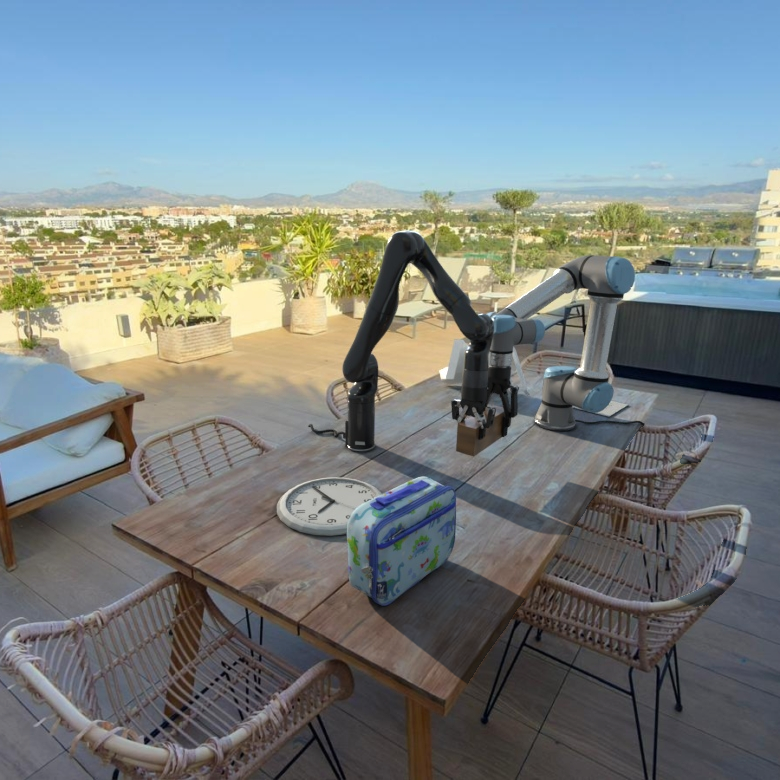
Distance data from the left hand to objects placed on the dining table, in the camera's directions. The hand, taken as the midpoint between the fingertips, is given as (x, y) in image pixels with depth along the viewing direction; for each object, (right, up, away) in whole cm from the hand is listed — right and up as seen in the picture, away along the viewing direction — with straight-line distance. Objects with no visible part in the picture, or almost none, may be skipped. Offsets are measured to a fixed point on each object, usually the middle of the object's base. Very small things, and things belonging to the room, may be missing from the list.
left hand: (471, 436), depth 158 cm
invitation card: (+67, +7, +69) cm, 96 cm away
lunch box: (-22, -27, -44) cm, 56 cm away
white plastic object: (+17, +13, +86) cm, 88 cm away
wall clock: (-40, -18, -15) cm, 46 cm away
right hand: (+9, 0, +13) cm, 16 cm away
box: (+5, -3, +7) cm, 9 cm away
